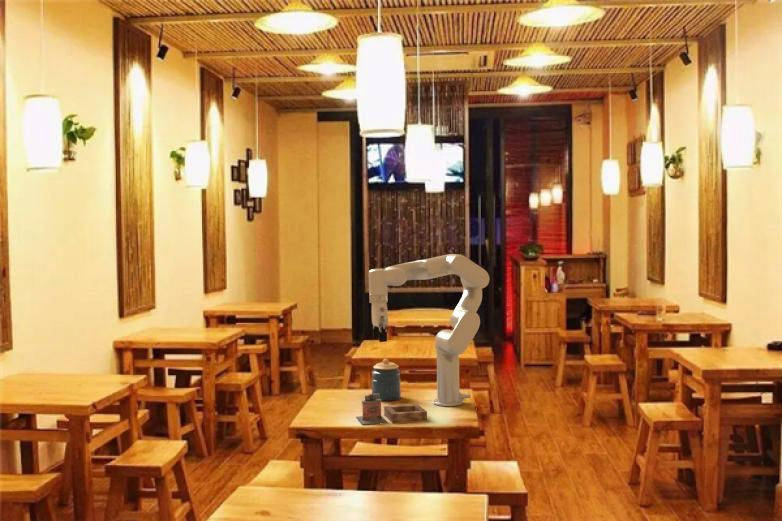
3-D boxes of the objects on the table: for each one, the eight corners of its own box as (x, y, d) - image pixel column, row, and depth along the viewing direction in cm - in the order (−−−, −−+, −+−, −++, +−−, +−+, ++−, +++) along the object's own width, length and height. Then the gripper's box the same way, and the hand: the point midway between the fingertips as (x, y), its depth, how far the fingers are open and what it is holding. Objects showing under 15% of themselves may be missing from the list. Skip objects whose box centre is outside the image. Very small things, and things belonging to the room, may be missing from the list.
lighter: (364, 421, 325) (363, 395, 324) (360, 419, 328) (360, 394, 327) (383, 418, 328) (382, 393, 327) (379, 417, 331) (379, 392, 330)
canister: (375, 402, 360) (374, 361, 359) (368, 396, 373) (368, 357, 372) (404, 400, 363) (403, 360, 362) (397, 394, 376) (396, 355, 375)
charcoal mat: (380, 416, 335) (380, 414, 335) (387, 423, 323) (387, 421, 323) (356, 418, 332) (356, 416, 332) (362, 425, 321) (362, 423, 321)
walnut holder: (417, 412, 340) (417, 404, 340) (427, 420, 327) (427, 411, 327) (384, 414, 337) (384, 406, 337) (392, 423, 323) (392, 414, 323)
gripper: (392, 300, 335) (394, 342, 336) (382, 296, 352) (383, 336, 353) (374, 301, 334) (376, 343, 335) (364, 297, 350) (366, 337, 351)
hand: (380, 340), depth 344 cm, fingers open, 9 cm apart
